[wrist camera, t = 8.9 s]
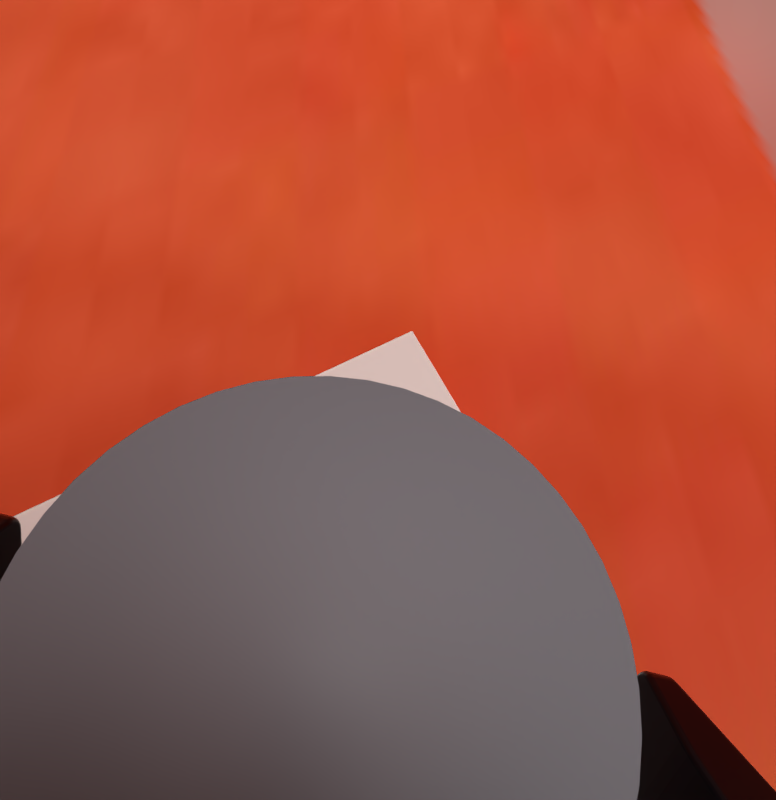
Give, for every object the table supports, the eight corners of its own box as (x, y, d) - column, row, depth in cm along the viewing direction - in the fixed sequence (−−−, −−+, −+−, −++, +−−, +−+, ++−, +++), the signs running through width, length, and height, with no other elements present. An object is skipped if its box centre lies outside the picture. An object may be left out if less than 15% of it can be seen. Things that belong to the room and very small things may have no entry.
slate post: (350, 771, 15) (450, 1350, 3) (191, 666, 15) (-229, 850, 4) (442, 596, 17) (730, 570, 5) (295, 505, 17) (233, 278, 5)
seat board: (196, 1036, 14) (171, 1123, 12) (9, 531, 17) (-42, 519, 15) (632, 722, 17) (682, 741, 15) (408, 343, 20) (419, 309, 18)
